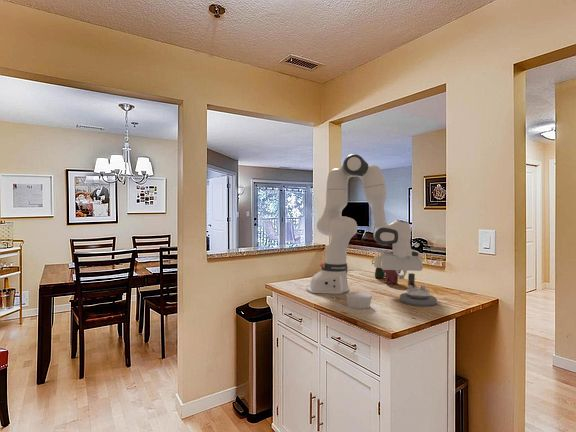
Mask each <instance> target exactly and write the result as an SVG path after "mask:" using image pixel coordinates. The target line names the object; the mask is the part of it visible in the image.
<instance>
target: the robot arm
mask: <svg viewBox="0 0 576 432" xmlns="http://www.w3.org/2000/svg"><path fill="white" fill-rule="evenodd" d="M356 177H357V178H359V179H360V180H361V183H362V188H363V194H364V196H365V198H366V201H367V204H368V205H369V206H370V209H371V211H372V218H373V225H374V227H373V228H374V229H373V233H372V237H373V239H374V241H375V242H376V243H377V244H379V245H381V246H389V245H392V251H383V252H381V253H380V256H381V268H382V269H383V270H396V273H397V274H398V280H405V276H406V274H407V273H408V271H411V272H412V271H413V272H414V271H415V272H416V271H417V272H421V271H423V267H424V266H423V259H422V257H421V252H419V251H417V250H415V249H412V245H411V239H412V230H411V225H410V223H409V222H407V221H406V220H405V221H404V220H399V219H395V220H393V222H392V221H391V222H390V223H389V224H387V218H386V213H385V202H386V200H387V199H386V198H387V189H386V183H385V178H384V176H383V173H382V170H381V168H380V167H379V166H378V165H376V164H368V162H367V161H366V160H365V159H364V158H363V157H362V156H361V155H359V154H355V153H352V154H349V155H348V156H346V157H345V158H344V160H343V162H342V165H341V167H339V168H337V167H336V168H333V169H331V170H330V171H329V172H328V174H327V181H326V193H325V194H326V196H325V197H326V198H325V206H324V210H323V212H322V214H321V217H319V219H318V221H317V223H316V229H317V231H318V232H319V234H322V235H323V236H327V237H331V241H330V243H329V244H328V245H327V246H326V248H325V253H324V254H325V256H324V257H325V258H324V259H325V262H320V263H319V265H318V266H320V267H321V270H319V271H317V273H315V274H314V275H313V276H312V277H311V280H310V284H307V286H306V288H305V289H306V291H308V293H311V294H331V295H333V294H334V295H342V294H343V293H348V292H349V291H350V288H349V283H348V282H349V281H348V263H347V258H348V257H347V255H348V254H347V253H348V246H349V243H350V240H351V239H352V238H353V237H354V236H355V235H356V234H357V232H358V224H357V221H356V220H355V219H354V218H352V217H348V216H342V212H343V210H344V209H345V208H346V206H347V205H348V194H349V193H348V190H349V189H348V188H349V187H348V186H349V185H348V184H349V180H350V179H353V178H356ZM399 270H401V271H403V273H402V274H400V273H398V272H399Z"/></svg>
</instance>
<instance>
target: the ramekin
mask: <svg viewBox="0 0 576 432" xmlns="http://www.w3.org/2000/svg"><path fill="white" fill-rule="evenodd" d="M345 296H346V298H347V299H346V301H347V306H348V307H349V308H351V309H354V308H356V309H355V310H366V308H367V309H369V308H370V307H371V303H372V299H373V295H372V294H371V293H369V292H364V291H350V292H349V291H348V292H346V295H345Z"/></svg>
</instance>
